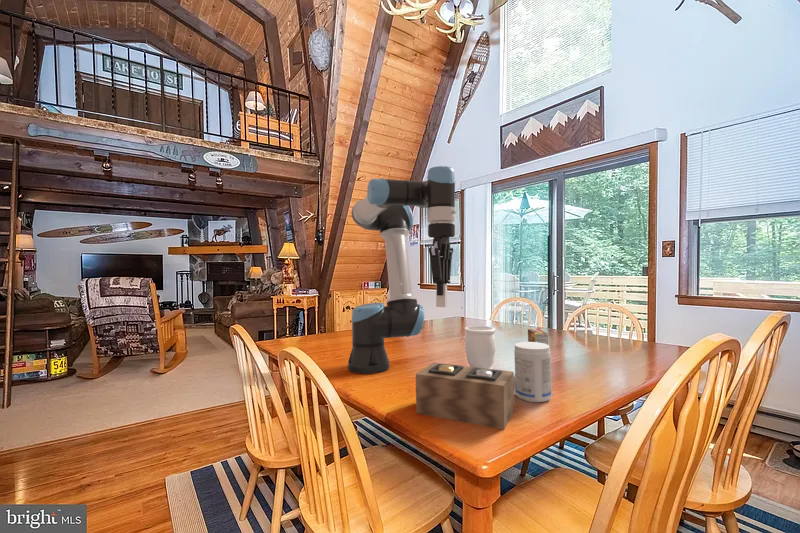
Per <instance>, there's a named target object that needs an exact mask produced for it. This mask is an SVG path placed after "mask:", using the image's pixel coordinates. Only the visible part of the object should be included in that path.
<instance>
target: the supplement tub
mask: <svg viewBox="0 0 800 533" xmlns="http://www.w3.org/2000/svg"><path fill="white" fill-rule="evenodd" d="M551 362H552V361H551V350H550V345H549V344H548V345H547V344H544V343H539V342H528V341H521V342H520V341H519V342H516V343H515V344H514V381H515V382H514V384H515V386H514V388H515V395H516V396H517V398H519V399H520V400H522V401H526V402H529V403H543V402H544V403H545V402H548V401H549V400H551V399H552V364H551Z"/></svg>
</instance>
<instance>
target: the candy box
mask: <svg viewBox="0 0 800 533" xmlns="http://www.w3.org/2000/svg"><path fill="white" fill-rule="evenodd" d="M527 342H539V343H544V344H547V345H549V333H547V332H545V331H544V330H542V329H540V328H527Z"/></svg>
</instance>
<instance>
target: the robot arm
mask: <svg viewBox="0 0 800 533" xmlns="http://www.w3.org/2000/svg"><path fill="white" fill-rule="evenodd" d="M426 179H427V180H425V181H424V180H408V179H407V180H406V179H405V180H404V179H393V178H392V179H391V178H390V179H389V178H371V179H370V180H369V181H368V183H367V184H368V185H367V191H366V196H365V197H364V198H363V199H360V200H358V201H356V202H355V203H354V205H353V206H352V208H351V218H352V220H353V221H354V223H355V224H356V225H357V226H358V227H360V228H362V229H364V230H367V231H379V234H380V238H383V240H384V245H385V255H386V256H385V257H386V267H387V279H388V288H389V289H388V290H389V299H387V301H386V305H385V304H384V303H383V302H371V303H370V302H369V303H365V304H361V305H358V306H356V307H354V308H353V309H352V312H351V336H352V337H351V339H352V342H351V344H352V345H351V346H352V347H351V348H352V349H351V351H350V355H349V357H348V362H347V370H348V371H349V372H352V373H355V374H362V375H363V374H377V373H382V372H384V371H385V372H386V371H387V370H389V369H390V359H389V357H388V354H387V350H386V348H385V339H387V338H388V339H390V338H400V337H401V338H404V337H405V338H406V337H407V338H408V337H413V336H418V335H420V333H421V332H422V330H423V326H424V324H425V323H424V322H425V310H424V308H423V305H422V304H419V303H418V299H417V298H416V297H415V296H413V290H412V288H413V287H412V280H411V271H410V263H409V262H410V261H409V252H408V246H407V245H408V243H407V242H408V241H407V237H408V235H409V234H410V231H411V230H412V228H413V225H414V223H413V221H414V216H413V211H412V209H411V207H418V208H421V209H422V208H423V209H424V208H425V209H427V222H428V223H429V224H428V225H427V236H428V237H429V238H433V239H432V247H429V248H428V253H429V257H430V258H429V259H430V267H431V268H430V269H431V275H432V276H431V278H432V284H434V285H435V287H436V289H435V292H436V293H435V294H436V295H435V298H436V299H435V303H436V306H435V307H436V308H447V307H448V284H451V273H452V260H453V254H454V248H453V247H451V243H450V238H454V237H455V236H456V225H455V223H454V222H455V218H456V217H455V215H456V214H457V211H456V207H455V206H456V205H455V204H456V202H455V201H456V178H455V170H454V168H453V167H451V166H446V165H445V166H444V165H440V166H438V165H437V166H433V167H430V168H429V169H428V171H427V176H426Z"/></svg>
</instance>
